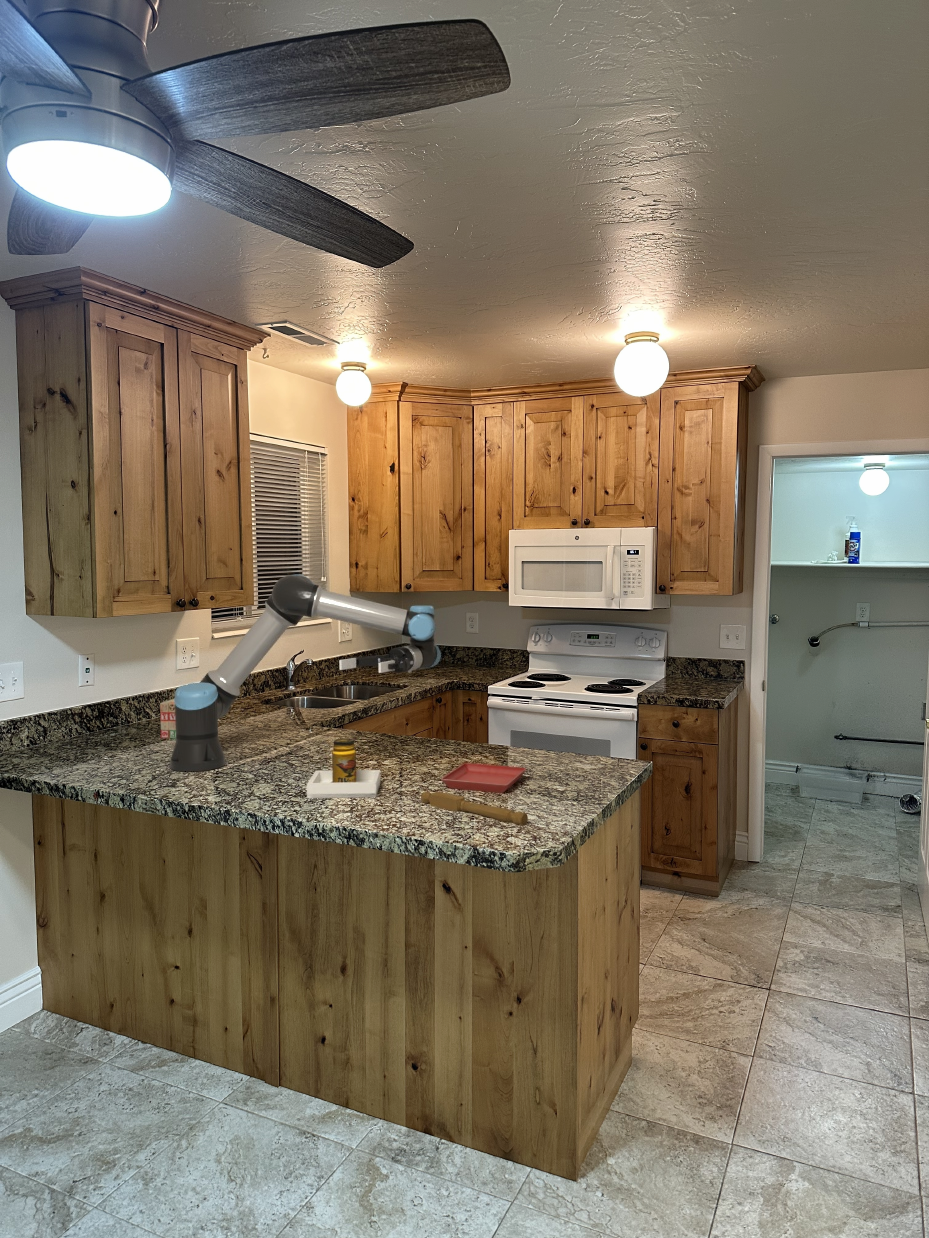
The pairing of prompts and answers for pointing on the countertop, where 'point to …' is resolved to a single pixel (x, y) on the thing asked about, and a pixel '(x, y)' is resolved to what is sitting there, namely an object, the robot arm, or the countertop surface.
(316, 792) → the tray
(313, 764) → the countertop surface
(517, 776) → the plant saucer
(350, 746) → the condiment
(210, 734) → the robot arm
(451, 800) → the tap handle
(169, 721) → the stack of blocks
